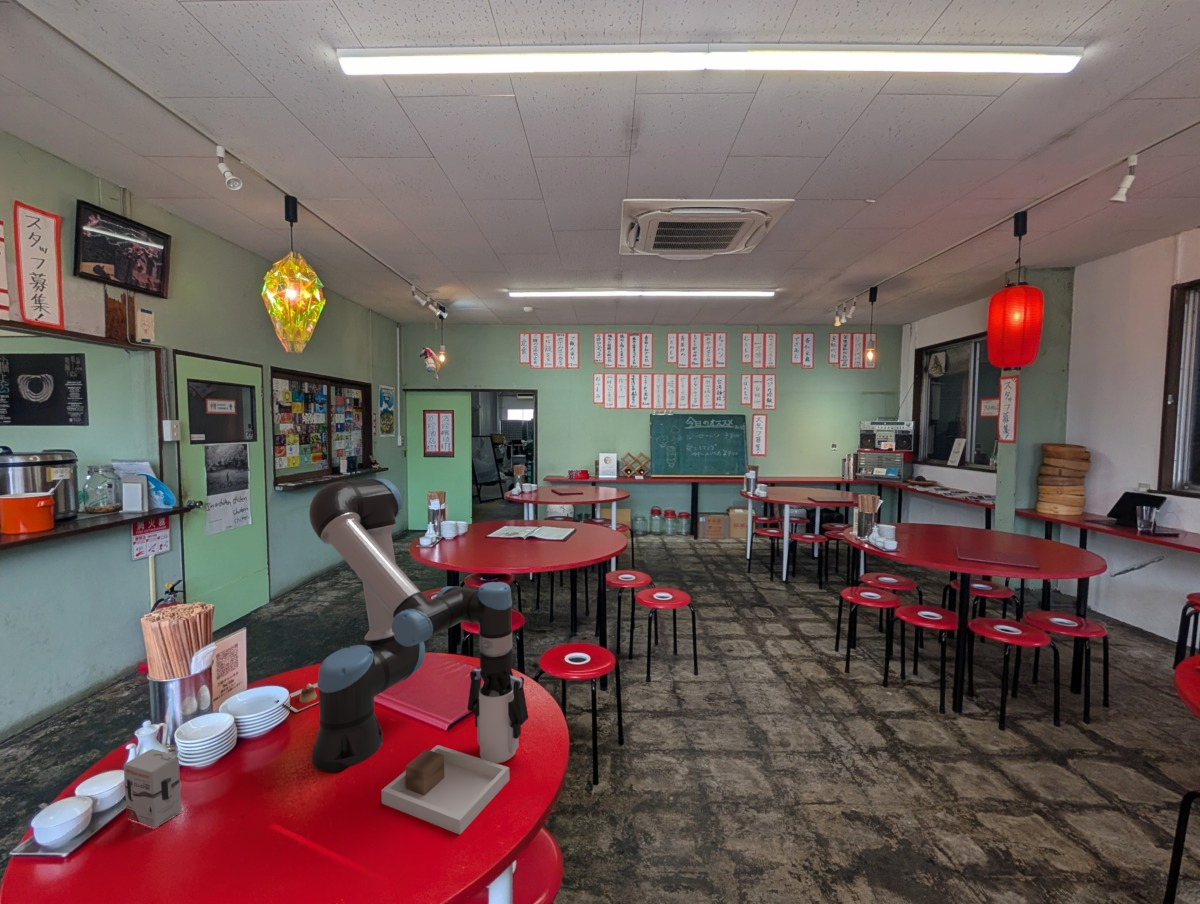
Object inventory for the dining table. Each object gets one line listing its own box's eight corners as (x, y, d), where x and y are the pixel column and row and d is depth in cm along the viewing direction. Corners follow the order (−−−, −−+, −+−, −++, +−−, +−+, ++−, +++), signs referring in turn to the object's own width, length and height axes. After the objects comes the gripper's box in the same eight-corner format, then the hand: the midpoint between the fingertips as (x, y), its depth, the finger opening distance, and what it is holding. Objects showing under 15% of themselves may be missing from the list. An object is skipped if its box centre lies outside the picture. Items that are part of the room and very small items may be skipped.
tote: (381, 807, 101) (381, 790, 100) (437, 759, 115) (437, 744, 115) (460, 838, 92) (459, 820, 92) (509, 783, 107) (509, 767, 107)
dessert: (295, 716, 135) (295, 699, 135) (275, 703, 142) (275, 686, 142) (339, 696, 145) (339, 680, 145) (319, 685, 152) (318, 670, 152)
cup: (519, 745, 120) (518, 680, 120) (510, 767, 112) (509, 698, 112) (486, 743, 121) (485, 678, 121) (475, 765, 113) (473, 696, 112)
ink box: (124, 821, 98) (122, 762, 97) (154, 803, 102) (151, 747, 102) (154, 831, 95) (151, 771, 95) (182, 812, 100) (180, 755, 99)
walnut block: (406, 789, 104) (405, 765, 104) (426, 771, 110) (426, 749, 110) (424, 795, 102) (423, 772, 102) (444, 777, 108) (443, 755, 108)
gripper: (449, 649, 117) (451, 743, 117) (525, 665, 108) (527, 766, 109) (470, 637, 124) (472, 726, 124) (543, 651, 115) (544, 747, 116)
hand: (497, 745), depth 117 cm, fingers closed on cup, 8 cm apart
